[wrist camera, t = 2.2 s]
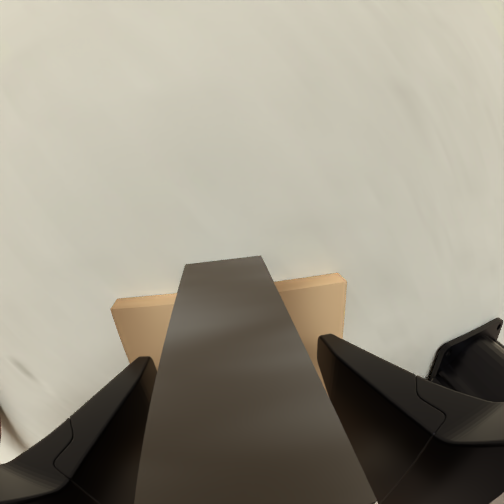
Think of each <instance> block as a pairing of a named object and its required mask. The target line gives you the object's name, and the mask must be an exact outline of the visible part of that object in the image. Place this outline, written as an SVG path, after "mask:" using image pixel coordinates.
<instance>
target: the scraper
mask: <svg viewBox="0 0 504 504" xmlns="http://www.w3.org/2000/svg"><path fill="white" fill-rule="evenodd" d="M346 287H347V281H346V280H345V279H344V278H343V277H342V276H341V275H340V274H338V273H333V274H327V275H320V276H313V277H306V278H299V279H292V280H285V281H277V282H273V279H272V277H271V275H270V273H269V271H268V269H267V267H266V265H265V263H264V261H263V259H262V257H261V256H254V257H246V258H237V259H229V260H220V261H212V262H203V263H194V264H186V265H185V268H184V271H183V275H182V278H181V282H180V285H179V289H178V292H177V293H175V294H165V295H155V296H144V297H133V298H121V299H117V300H116V302H115V303H114V305H113V306H112V308H111V312H112V316H113V319H114V322H115V325H116V327H117V330H118V333H119V336H120V339H121V341H122V344H123V347H124V349H125V352H126V355H127V357H128V360H129V362H130V364H131V363H132V362H133V361H134V360H135V359H136V358H138V357H140V356H150V357H152V359H153V361H154V364H155V367H156V370H157V375H156V379H155V384H154V389H153V393H152V398H151V403H150V408H149V413H148V418H147V423H146V428H145V434H144V440H143V445H142V451H141V457H140V464H139V470H138V477H137V485H136V492H135V500H134V504H374V503H375V502H376V501H377V499H376V497H375V495H374V493H373V491H372V489H371V486H370V484H369V482H368V480H367V478H366V476H365V473H364V471H363V469H362V467H361V465H360V463H359V461H358V458H357V456H356V454H355V452H354V450H353V448H352V445H351V443H350V441H349V439H348V437H347V435H346V433H345V431H344V428H343V426H342V424H341V422H340V420H339V418H338V416H337V414H336V411H335V409H334V407H333V405H332V403H331V401H330V399H329V396H328V393H327V390H326V387H325V384H324V381H323V378H322V374H321V371H320V368H319V365H318V362H317V342H318V337H319V336H320V335H325V334H330V333H331V334H333V335H335V336H337V337H339V338H341V339H342V337H343V327H344V315H345V303H346Z"/></svg>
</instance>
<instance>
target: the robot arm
mask: <svg viewBox="0 0 504 504" xmlns="http://www.w3.org/2000/svg"><path fill="white" fill-rule="evenodd" d="M502 324H503V320H501V319H500V318H499V317H498V318H496V319H494V320H492V321H490V322H489V323H487V324H485V325H483V326H481V327H479V328H477V329H475V330H473V331H471V332H469V333H467V334H465V335H463V336H460V337H458V338H456V339H454V340H452V341H449V342H447V343H446V344H444V345H443V346H442V348H441V349H440V351H439V354H438V357H437V360H436V363H435V365H434V368H433V371H432V374H431V376H430V379H429V381H428V380H426V379H424V378H422V377H420V376H416V375H415V374H413V373H411V372H409V371H407V370H404V369H402V368H400V367H398V366H396V365H394V364H392V363H390V362H388V361H386V360H384V359H382V358H379V357H377V356H375V355H373V354H371V353H369V352H367V351H365V350H363V349H361V348H359V347H357V346H355V345H353V344H351V343H349V342H347V341H345V340H343V339H341V338H339V337H337V336H335V335H333V334H331V333H330V334H325V335H320V336H319V337H318V342H317V362H318V365H319V368H320V371H321V374H322V378H323V381H324V384H325V387H326V390H327V393H328V396H329V399H330V401H331V403H332V405H333V407H334V409H335V411H336V414H337V416H338V418H339V420H340V422H341V424H342V426H343V428H344V431H345V433H346V435H347V437H348V439H349V441H350V443H351V445H352V448H353V450H354V452H355V454H356V456H357V458H358V461H359V463H360V465H361V467H362V469H363V471H364V473H365V476H366V478H367V480H368V482H369V484H370V486H371V489H372V491H373V493H374V495H375V497H376V499H377V502H378V504H504V346H503V345H502V344H501V343H500V342H498V341H497V338H498V335H499V333H500V330H501V327H502ZM156 375H157V370H156V367H155V364H154V361H153V359H152V357H150V356H140V357H138V358H136V359H135V360H134V361H133V362H132V363H131V364H130V365H128V366H127V367H126V368H125V369H124V370H123V371H122V372H120V373H119V374H118V375H117V376H116V377H115V378H114V379H113V380H111V381H110V382H109V383H108V384H107V385H106V386H105V387H103V388H102V389H101V390H100V391H99V392H98V393H97V394H95V395H94V396H93V397H92V398H91V399H90V400H89V401H87V402H86V403H85V404H84V405H83V406H82V407H81V408H80V409H78V410H77V411H76V412H75V413H74V414H73V415H72V416H70V418H68V419H67V420H66V421H65V422H63V423H62V424H61V425H60V426H59V427H58V428H56V429H55V430H54V431H53V432H51V433H50V434H49V435H48V436H46V437H45V438H44V439H42V440H41V441H39V442H38V443H37V444H35V445H34V446H32V447H31V448H29V449H28V450H27V451H25V452H24V453H22V454H21V455H19V456H18V457H16V458H15V459H13V460H12V461H10V462H8V463H5V464H1V465H0V504H134V500H135V492H136V485H137V477H138V470H139V464H140V457H141V451H142V445H143V440H144V434H145V428H146V423H147V418H148V413H149V408H150V403H151V398H152V393H153V389H154V384H155V379H156Z"/></svg>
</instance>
